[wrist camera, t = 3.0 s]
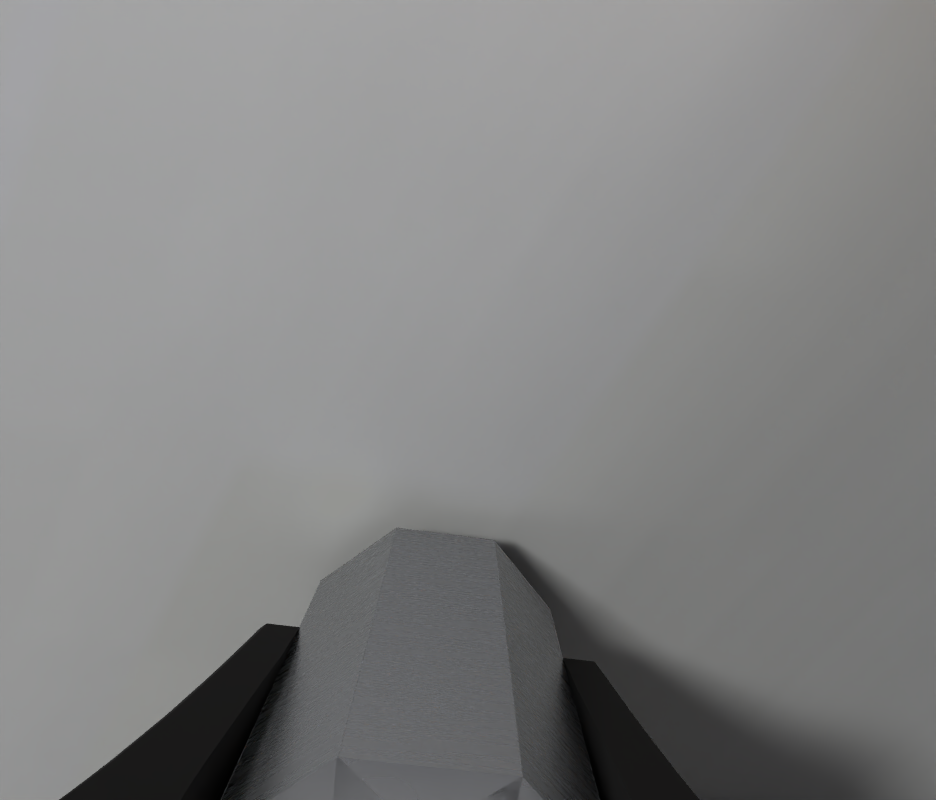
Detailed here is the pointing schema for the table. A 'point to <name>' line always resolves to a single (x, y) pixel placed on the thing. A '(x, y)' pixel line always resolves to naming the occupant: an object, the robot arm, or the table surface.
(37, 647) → the table surface
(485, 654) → the tube
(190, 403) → the table surface
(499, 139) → the table surface
